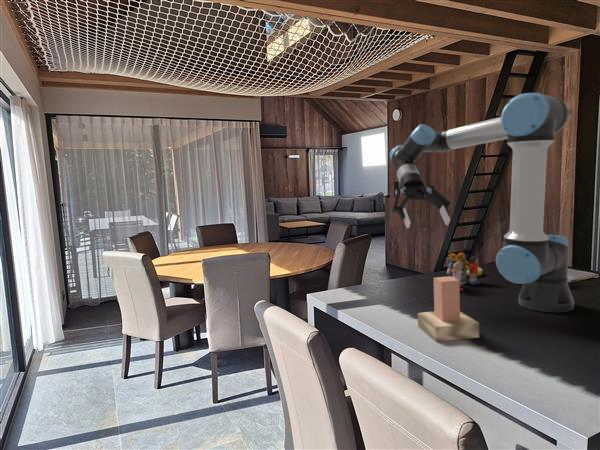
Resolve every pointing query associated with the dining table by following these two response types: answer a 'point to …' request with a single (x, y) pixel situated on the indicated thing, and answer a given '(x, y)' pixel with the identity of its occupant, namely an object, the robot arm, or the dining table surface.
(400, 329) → the dining table surface
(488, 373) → the dining table surface
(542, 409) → the dining table surface
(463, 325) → the plinth
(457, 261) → the doll family
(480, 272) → the decorated donut
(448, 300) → the block
